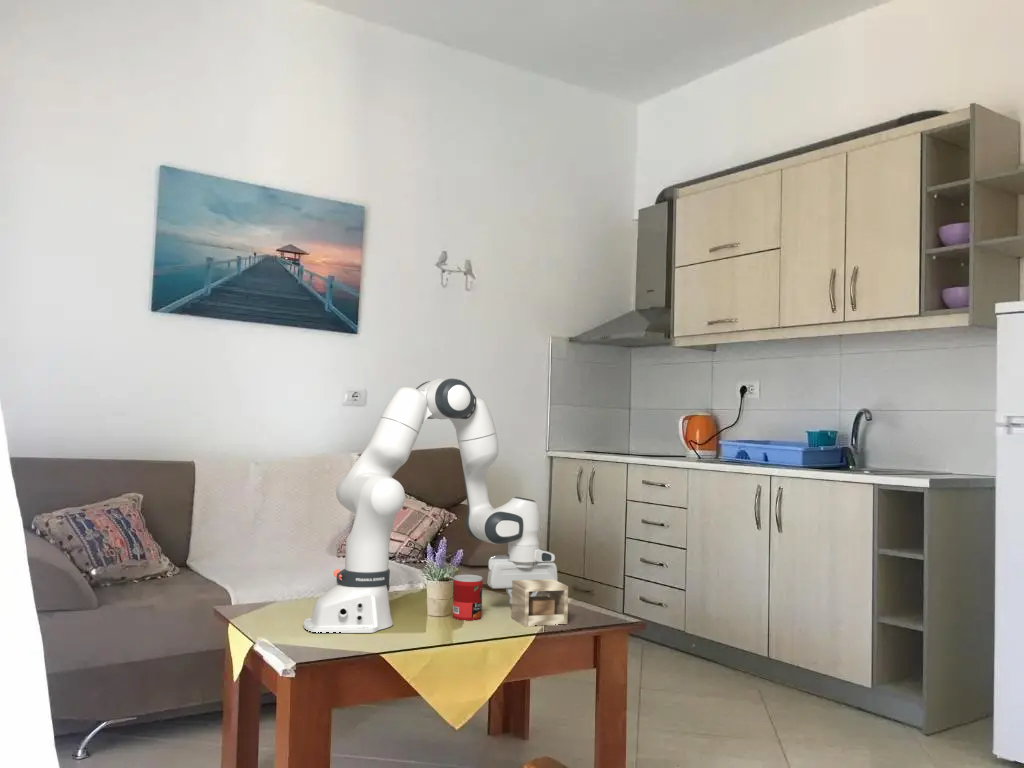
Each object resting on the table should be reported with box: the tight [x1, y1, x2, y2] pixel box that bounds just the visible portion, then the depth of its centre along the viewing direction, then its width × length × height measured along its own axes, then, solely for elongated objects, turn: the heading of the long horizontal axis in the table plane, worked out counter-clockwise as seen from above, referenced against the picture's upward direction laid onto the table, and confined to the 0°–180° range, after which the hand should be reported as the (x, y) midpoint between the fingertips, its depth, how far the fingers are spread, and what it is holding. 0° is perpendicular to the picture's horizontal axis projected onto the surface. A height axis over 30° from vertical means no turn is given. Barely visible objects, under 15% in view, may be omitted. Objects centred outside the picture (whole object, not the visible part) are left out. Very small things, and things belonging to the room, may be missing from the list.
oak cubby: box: [511, 579, 569, 627], centre depth 230 cm, size 12×11×10 cm
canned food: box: [452, 574, 483, 622], centre depth 231 cm, size 8×8×11 cm
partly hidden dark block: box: [528, 595, 555, 616], centre depth 235 cm, size 6×20×6 cm, turn 19°
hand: (521, 603), depth 243 cm, fingers closed on partly hidden dark block, 4 cm apart
